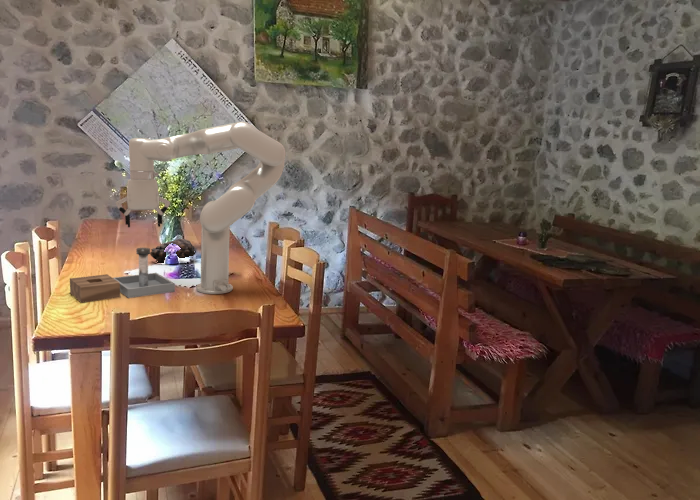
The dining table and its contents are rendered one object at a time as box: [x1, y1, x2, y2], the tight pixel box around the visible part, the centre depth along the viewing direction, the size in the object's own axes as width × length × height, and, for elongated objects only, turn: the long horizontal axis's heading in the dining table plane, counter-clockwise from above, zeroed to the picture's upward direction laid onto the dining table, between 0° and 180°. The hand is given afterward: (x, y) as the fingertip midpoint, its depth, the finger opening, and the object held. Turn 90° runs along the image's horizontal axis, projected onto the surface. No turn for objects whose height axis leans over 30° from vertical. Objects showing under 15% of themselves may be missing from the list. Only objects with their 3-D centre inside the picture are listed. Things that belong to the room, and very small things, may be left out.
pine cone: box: [149, 238, 196, 263], centre depth 240 cm, size 10×18×10 cm, turn 122°
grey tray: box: [112, 272, 176, 299], centre depth 202 cm, size 16×16×3 cm
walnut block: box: [69, 273, 121, 304], centre depth 192 cm, size 12×12×5 cm
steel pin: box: [135, 247, 151, 287], centre depth 201 cm, size 4×4×14 cm
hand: (144, 226), depth 198 cm, fingers open, 9 cm apart
